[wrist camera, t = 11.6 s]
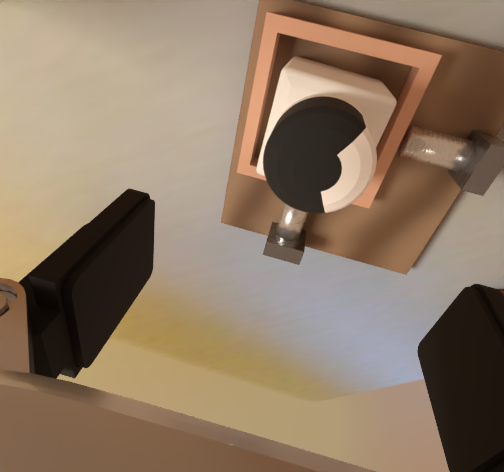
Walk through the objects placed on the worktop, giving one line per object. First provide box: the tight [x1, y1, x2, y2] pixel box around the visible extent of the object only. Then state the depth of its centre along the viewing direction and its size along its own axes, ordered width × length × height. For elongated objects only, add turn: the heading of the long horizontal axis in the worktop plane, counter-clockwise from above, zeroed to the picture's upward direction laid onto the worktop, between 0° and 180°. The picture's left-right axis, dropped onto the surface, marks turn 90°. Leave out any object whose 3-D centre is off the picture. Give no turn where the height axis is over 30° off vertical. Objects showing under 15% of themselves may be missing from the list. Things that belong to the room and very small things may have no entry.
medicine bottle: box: [256, 56, 397, 213], centre depth 22 cm, size 7×7×12 cm
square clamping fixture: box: [221, 0, 504, 275], centre depth 28 cm, size 20×20×5 cm
